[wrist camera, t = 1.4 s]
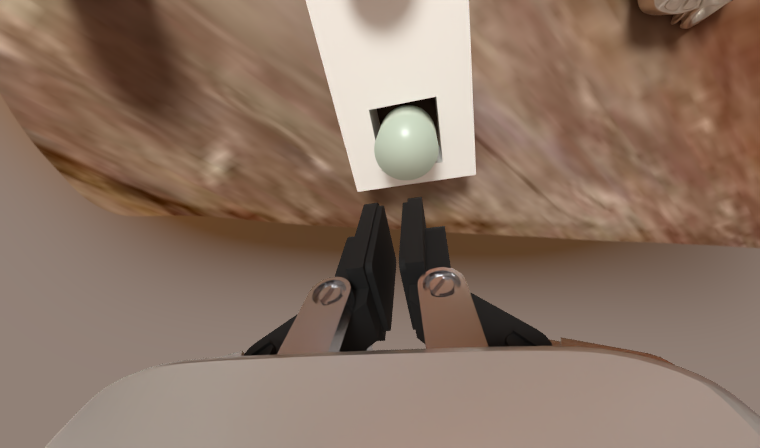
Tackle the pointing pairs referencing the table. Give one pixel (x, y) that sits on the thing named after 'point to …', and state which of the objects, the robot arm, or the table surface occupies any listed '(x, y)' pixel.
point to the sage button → (406, 143)
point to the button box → (398, 76)
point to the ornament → (682, 9)
